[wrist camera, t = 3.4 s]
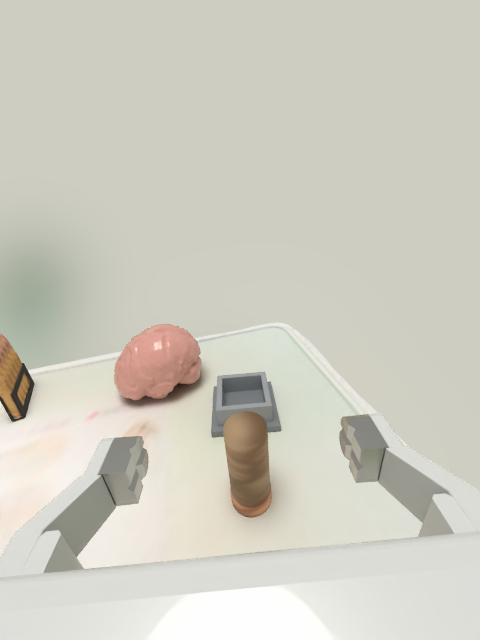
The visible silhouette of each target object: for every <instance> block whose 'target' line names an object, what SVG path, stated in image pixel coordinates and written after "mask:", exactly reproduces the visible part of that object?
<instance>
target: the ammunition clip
mask: <svg viewBox="0 0 480 640" xmlns="http://www.w3.org/2000/svg"><path fill="white" fill-rule="evenodd" d="M33 387H34V382H33V380H32V378H31V376H30V374H29V372H28V370H27V369H26V367H25V365H24V363H21V361H20V359H19V357H18V355H17V353H16V352H15V351H14V350H13V348H12V346H11V345H10V343H9V341H8V340H7V339H6V338H5V337H4V336H3V335H2V334H0V401H1V403H2V405H3V406H4V408H5V410H6V412H7V413H8V415H9V417H10V419H11V420H12V422H13V421H16V420H19V419H22V418H25V417H26V413H27V410H28V406H29V402H30V398H31V395H32V391H33Z"/></svg>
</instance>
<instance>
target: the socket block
mask: <svg viewBox="0 0 480 640" xmlns="http://www.w3.org/2000/svg"><path fill="white" fill-rule="evenodd" d="M242 411H250V412H255V413H257V414H259V415H261V416H262V417H263V418H264V419H265V421H266V423H267V432H274V431H281V426H280V421H279V417H278V412H277V408H276V404H275V399H274V395H273V390H272V386H271V382H267V379H266V374H265V372H257V373H246V374H234V375H223V376H218V378H217V386H216V387H214V395H213V412H212V429H211V433H212V437H219V436H224V434H223V426H224V423H225V421H226V420H227V419H228V418H229V417H230V416H231V415H233V414H235V413H238V412H242Z"/></svg>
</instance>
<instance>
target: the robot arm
mask: <svg viewBox="0 0 480 640" xmlns="http://www.w3.org/2000/svg"><path fill="white" fill-rule="evenodd" d="M341 426H342V428H343V429H342V430H341V431H340V445H341V449H342V452H343V454H344V456H345V457H346V458H347V459H349V460H350V462H349V468H350V470H351V472H352V475H353V477H354V479H355V481H356V483H359V482H374V481H379V482H378V483H380V484H381V485H382V486H383V487H384V488H385V489H386V490H387V491H388V492H389V493H390V494H392V495H393V496H394V497H395V498H396V499H397V500H398V501H399V502H400V503H401V504H403V505H404V506H405V507H406V508H407V509H408V510H409V511H410V512H411V513H412V514H413V515H415V516H416V517H417V518H418V519H419V520H420V521H421V522H422V523H423V525H422V528H421V530H420V533H419V536H418V537H413V538H403V539H392V540H382V541H372V542H361V543H351V544H341V545H330V546H320V547H309V548H299V549H288V550H278V551H267V552H257V553H247V554H237V555H226V556H216V557H206V558H195V559H185V560H175V561H164V562H154V563H144V564H133V565H123V566H112V567H102V568H92V569H84V568H83V566H82V565H81V563H80V562H79V560H78V559H77V556H78V555H79V553H80V552H81V551H82V550H83V548H84V547H85V546H86V545H87V543H88V542H89V541H90V540H91V538H92V537H93V536H94V535H95V533H96V532H97V531H98V529H99V528H100V527H101V526H102V524H103V523H104V522H105V521H106V519H107V518H108V517H109V516H110V514H111V513H112V512H113V511H114V509H115V508H116V506H121V505H129V504H137V503H138V502H139V499H140V495H141V492H142V488H143V485H142V482H141V480H142V479H143V478H144V477H145V476H146V473H147V469H148V453H147V450H146V449H144V448H143V444H144V441H143V439H142V437H141V436H136V437H121V438H109V439H103V440H102V441H101V442H100V443H99V445H98V447H97V449H96V451H95V453H94V455H93V457H92V459H91V461H90V463H89V465H88V467H87V469H86V471H85V473H84V475H83V477H79V478H77V479H76V480H75V481H74V482H73V483H72V484H71V485H69V486H68V487H67V488H66V489H65V490H64V491H62V492H61V493H60V494H59V495H58V496H57V497H56V498H54V499H53V500H52V501H51V502H50V503H49V504H48V505H46V506H45V507H44V508H43V509H42V510H41V511H40V512H38V513H37V514H36V515H35V516H34V517H33V518H32V519H30V520H29V521H28V522H27V523H26V524H25V525H23V526H22V527H21V528H20V529H19V530H18V531H17V532H15V534H14V535H13V537H12V539H11V540H10V542H9V544H8V545H7V547H6V548H5V550H4V552H3V553H2V555H1V557H0V640H480V492H479V491H478V490H477V489H476V488H474V487H473V486H471V485H469V484H468V483H466V482H464V481H463V480H461V479H460V478H458V477H456V476H455V475H453V474H452V473H450V472H448V471H447V470H445V469H444V468H442V467H440V466H439V465H437V464H436V463H434V462H432V461H431V460H429V459H428V458H426V457H424V456H423V455H421V454H419V453H418V452H416V451H415V450H413V449H412V448H410V447H408V446H403V444H402V443H401V441H400V440H399V439H398V437H397V436H396V434H395V433H394V431H393V430H392V428H391V427H390V425H389V424H388V423H387V421H386V420H385V418H384V417H383V415H382V414H380V413H377V414H367V415H356V416H347V417H342V419H341Z"/></svg>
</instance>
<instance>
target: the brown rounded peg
mask: <svg viewBox="0 0 480 640" xmlns="http://www.w3.org/2000/svg"><path fill="white" fill-rule="evenodd" d="M223 434H224V441H225V448H226V455H227V462H228V469H229V476H230V484H231V497H232V503H233V506H234V507H235V509H236V510H237V511H238V512H239V513H240V514H242V515H244V516H247V517H256V516H259V515H261V514H263V513H264V512H265V511H266V510H267V509H268V507H269V505H270V502H271V485H270V478H269V456H268V434H267V423H266V421H265V419H264V418H263V417H262V416H261V415H259V414H257V413H255V412H250V411H242V412H238V413H235V414H233V415H231V416H230V417H229V418H228V419H227V420H226V421H225V423H224V426H223Z"/></svg>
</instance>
